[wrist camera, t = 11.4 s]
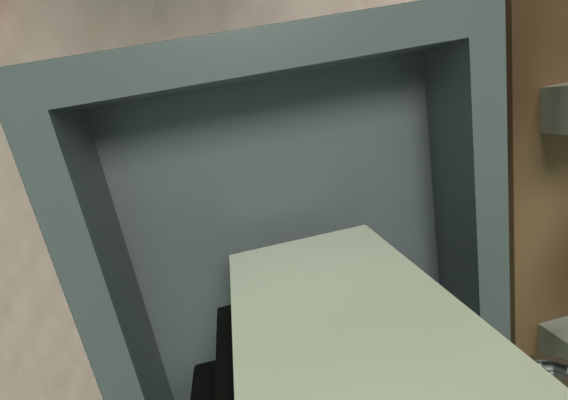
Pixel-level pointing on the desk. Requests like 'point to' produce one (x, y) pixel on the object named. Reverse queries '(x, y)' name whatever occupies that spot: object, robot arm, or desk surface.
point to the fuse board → (538, 174)
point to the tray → (261, 168)
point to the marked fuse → (364, 329)
